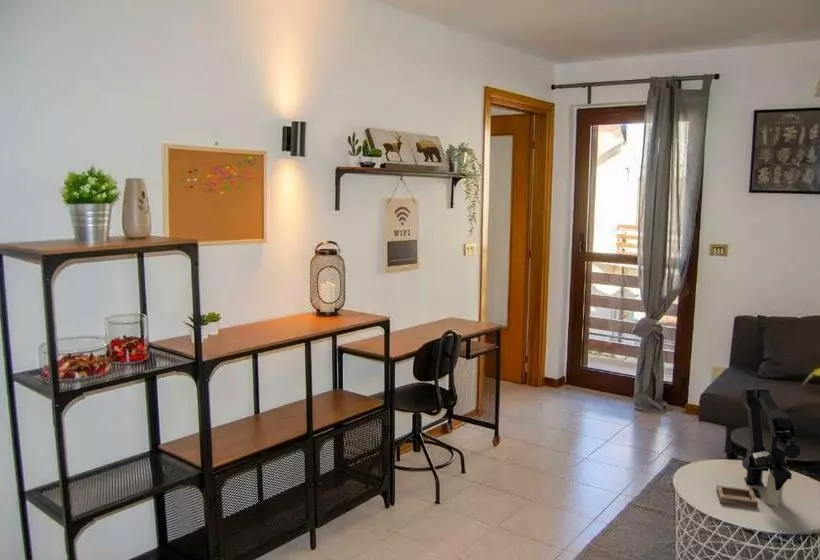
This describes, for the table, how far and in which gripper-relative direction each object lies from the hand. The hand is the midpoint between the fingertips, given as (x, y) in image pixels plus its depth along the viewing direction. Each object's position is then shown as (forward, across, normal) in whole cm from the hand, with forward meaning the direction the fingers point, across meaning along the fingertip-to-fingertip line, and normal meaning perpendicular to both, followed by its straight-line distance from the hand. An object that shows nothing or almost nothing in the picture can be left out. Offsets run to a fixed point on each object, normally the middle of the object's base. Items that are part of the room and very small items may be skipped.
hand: (775, 486), depth 254 cm
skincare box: (+7, 0, 0) cm, 7 cm away
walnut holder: (+7, +2, -14) cm, 15 cm away
